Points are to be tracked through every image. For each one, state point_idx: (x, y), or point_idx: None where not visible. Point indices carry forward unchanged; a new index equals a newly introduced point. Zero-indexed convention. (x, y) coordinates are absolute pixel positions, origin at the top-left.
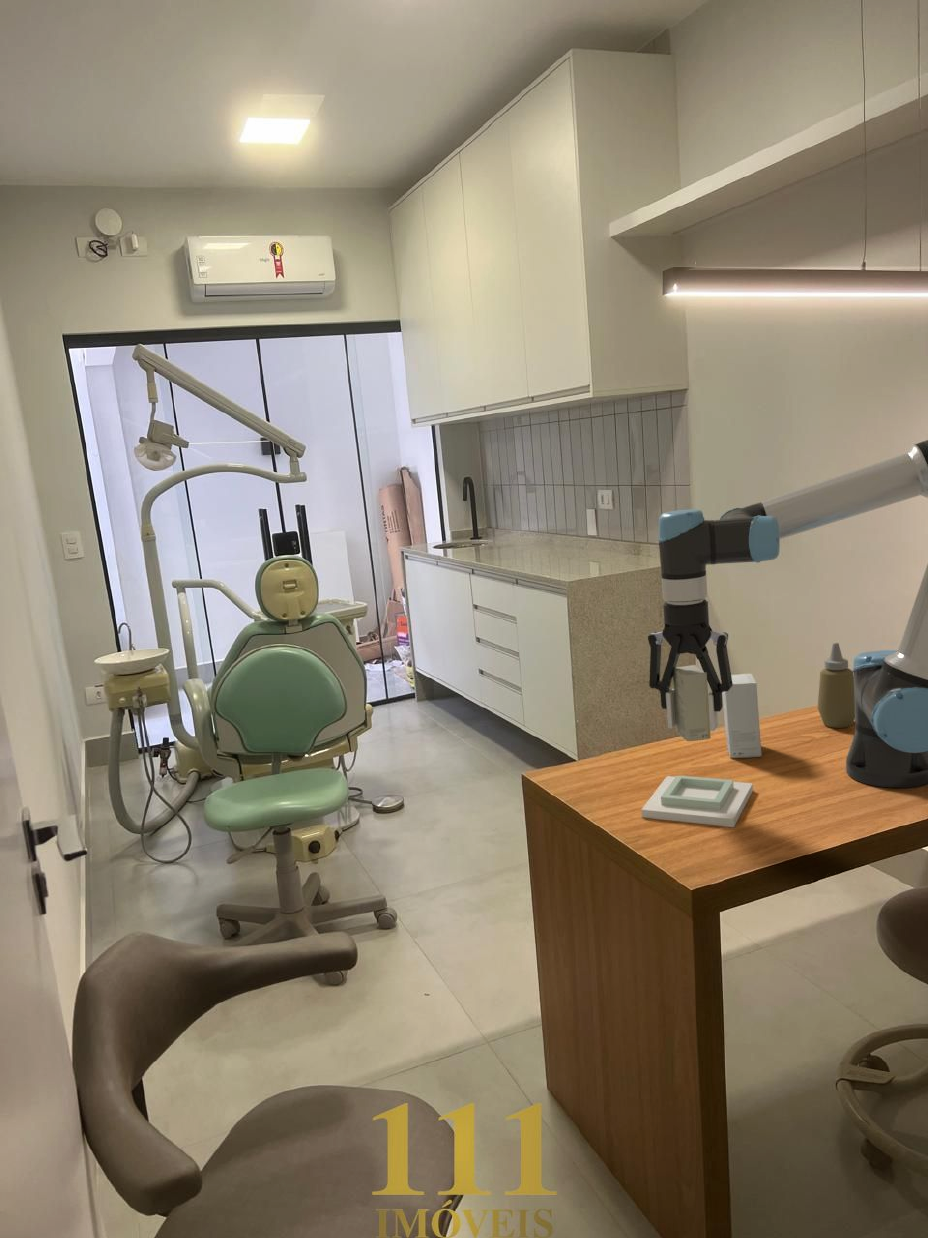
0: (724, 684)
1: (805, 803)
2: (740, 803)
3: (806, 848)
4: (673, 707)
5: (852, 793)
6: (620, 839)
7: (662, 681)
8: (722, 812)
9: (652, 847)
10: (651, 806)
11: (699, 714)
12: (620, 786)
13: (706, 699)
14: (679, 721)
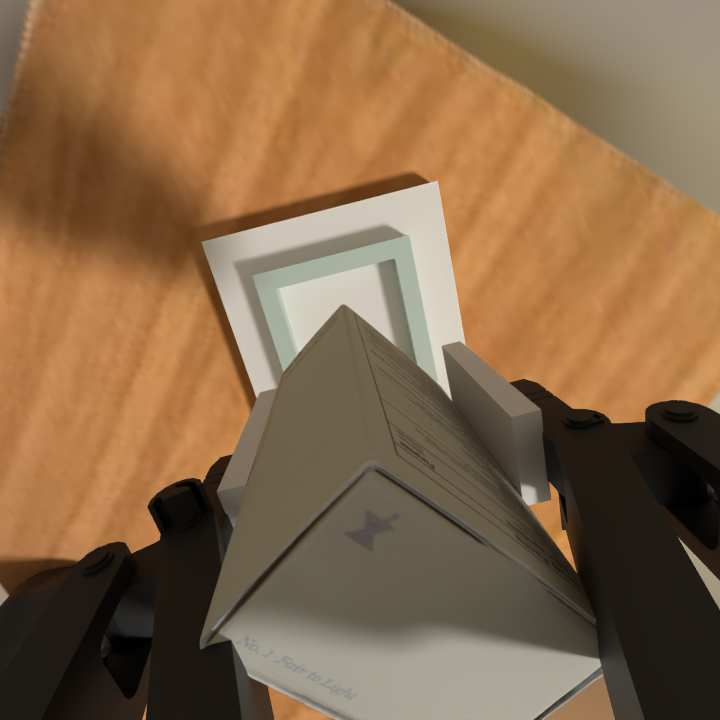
0: (91, 584)
1: (147, 434)
2: (237, 335)
3: (3, 217)
4: (477, 418)
5: (96, 519)
6: (417, 23)
7: (619, 456)
8: (245, 266)
9: (317, 20)
10: (422, 211)
11: (297, 383)
12: (564, 327)
13: (257, 457)
14: (420, 376)
